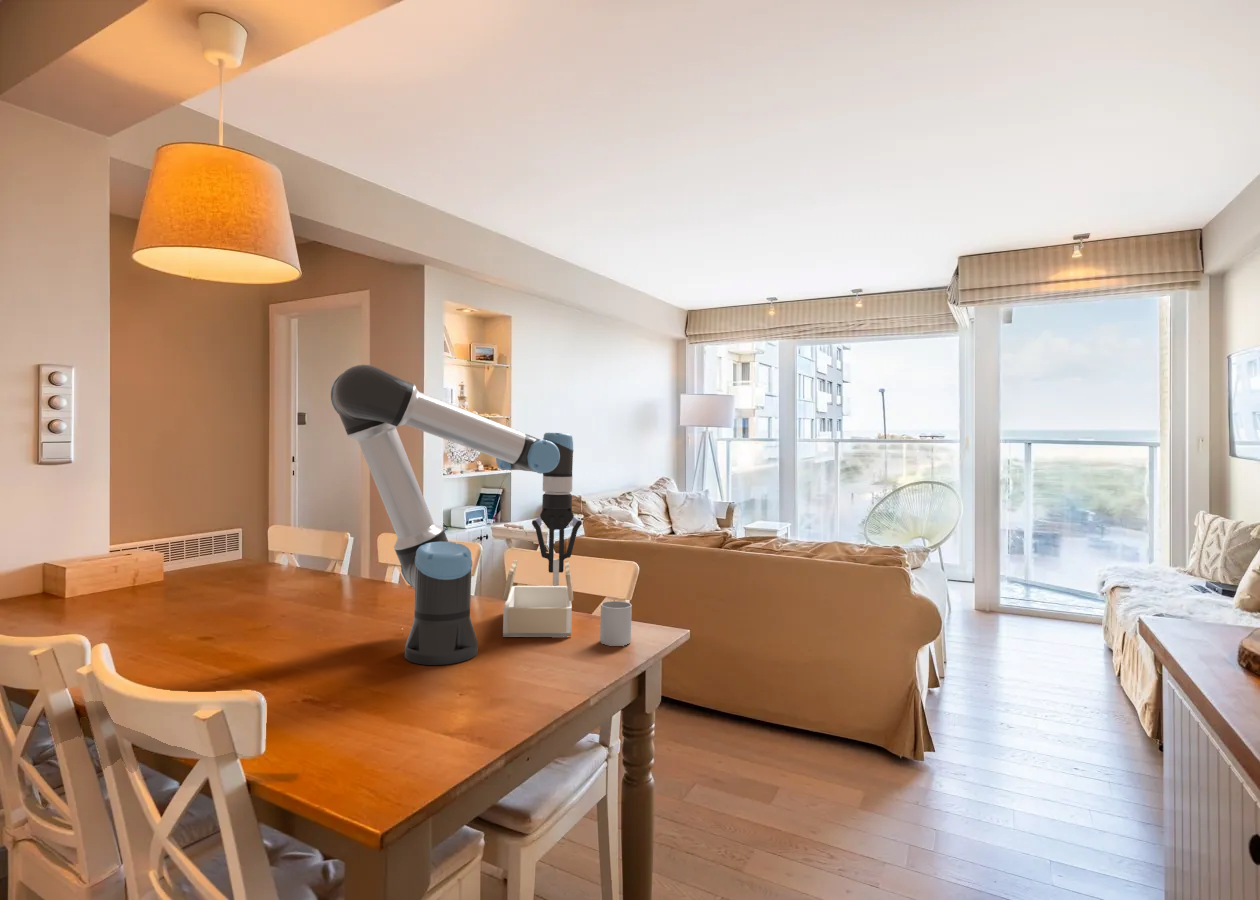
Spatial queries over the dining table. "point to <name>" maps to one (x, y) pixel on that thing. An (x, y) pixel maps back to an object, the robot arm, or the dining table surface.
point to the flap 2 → (568, 580)
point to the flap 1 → (510, 580)
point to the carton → (537, 612)
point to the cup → (615, 623)
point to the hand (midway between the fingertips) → (555, 585)
